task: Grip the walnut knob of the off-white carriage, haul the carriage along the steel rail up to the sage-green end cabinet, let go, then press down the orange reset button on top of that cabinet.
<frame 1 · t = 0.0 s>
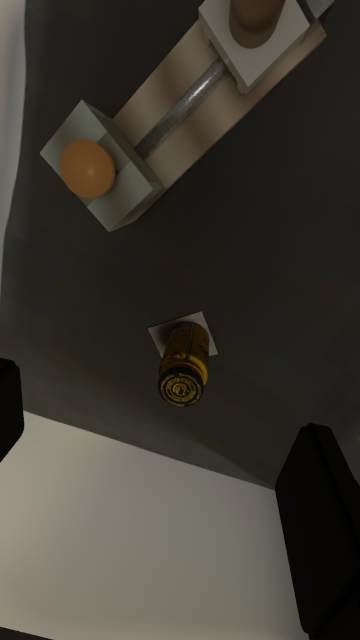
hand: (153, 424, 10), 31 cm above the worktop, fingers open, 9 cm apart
rail base: (189, 108, 32), on the worktop
condiment: (183, 339, 44), on the worktop
reset button: (92, 170, 26), point 10 cm above the worktop, slide at 0.0 cm
carriage: (255, 10, 23), point 7 cm above the worktop, slide at 0.0 cm
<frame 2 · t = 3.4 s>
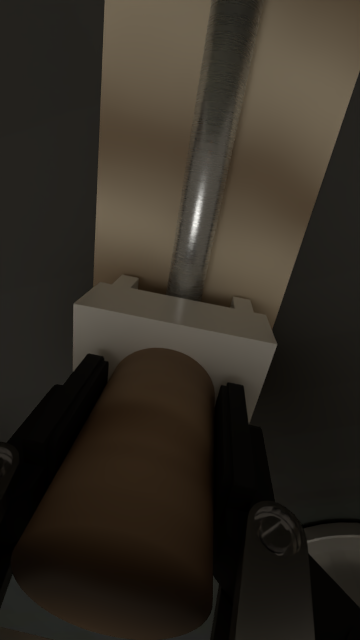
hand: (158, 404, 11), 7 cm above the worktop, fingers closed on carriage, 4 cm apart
rail base: (206, 181, 13), on the worktop
carriage: (157, 411, 10), point 7 cm above the worktop, slide at 0.0 cm, touching gripper
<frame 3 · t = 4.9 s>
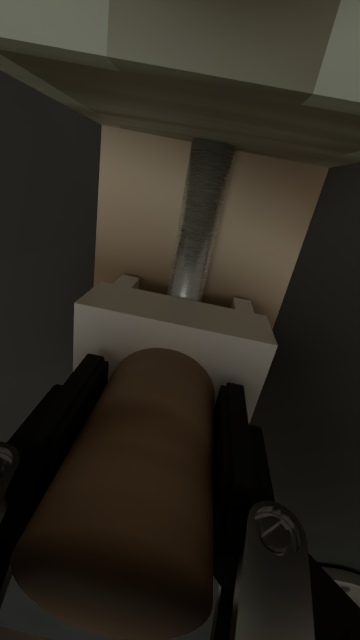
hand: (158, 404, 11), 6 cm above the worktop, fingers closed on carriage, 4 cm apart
rail base: (185, 298, 16), on the worktop
carriage: (157, 412, 10), point 7 cm above the worktop, slide at 5.8 cm, touching gripper
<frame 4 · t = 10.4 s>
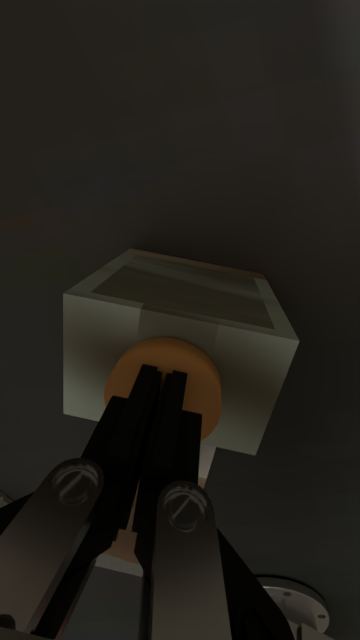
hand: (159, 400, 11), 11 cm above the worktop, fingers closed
rail base: (167, 410, 25), on the worktop
skyscraper: (4, 510, 34), on the worktop
reset button: (168, 379, 12), point 9 cm above the worktop, slide at 1.0 cm, touching gripper
carriage: (157, 446, 17), point 7 cm above the worktop, slide at 10.8 cm
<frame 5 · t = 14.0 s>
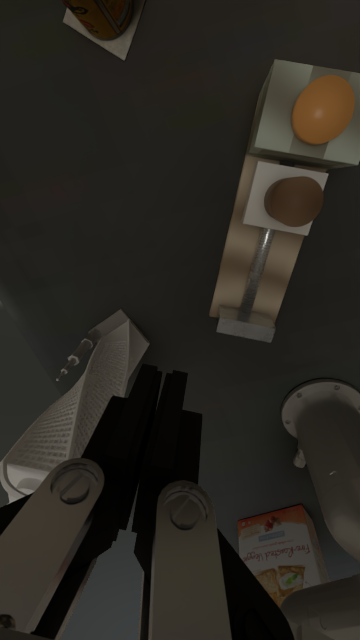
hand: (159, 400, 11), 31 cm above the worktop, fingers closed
rail base: (266, 225, 37), on the worktop
cracker box: (273, 518, 60), on the worktop
skyscraper: (125, 336, 46), on the worktop
reset button: (317, 115, 24), point 9 cm above the worktop, slide at 1.1 cm
carriage: (285, 200, 29), point 7 cm above the worktop, slide at 10.8 cm
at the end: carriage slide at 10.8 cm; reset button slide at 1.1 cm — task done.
